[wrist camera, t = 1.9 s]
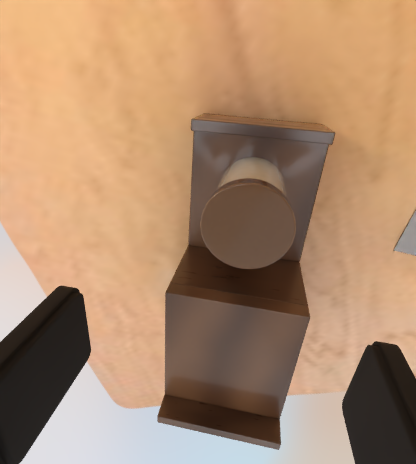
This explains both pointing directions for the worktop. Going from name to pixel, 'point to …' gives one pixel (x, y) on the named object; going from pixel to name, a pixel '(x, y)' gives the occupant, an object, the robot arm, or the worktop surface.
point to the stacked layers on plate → (408, 238)
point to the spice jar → (249, 216)
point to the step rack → (239, 291)
